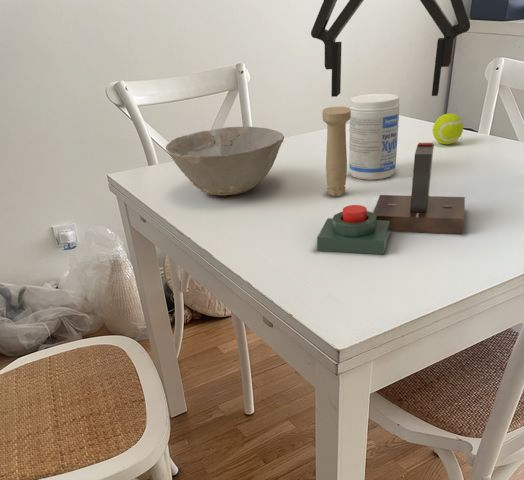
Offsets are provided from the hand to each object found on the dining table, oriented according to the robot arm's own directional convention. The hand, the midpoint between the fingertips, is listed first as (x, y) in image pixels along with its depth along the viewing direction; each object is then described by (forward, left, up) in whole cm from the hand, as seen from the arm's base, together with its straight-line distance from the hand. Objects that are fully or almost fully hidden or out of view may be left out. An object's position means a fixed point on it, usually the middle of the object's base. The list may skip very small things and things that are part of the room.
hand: (384, 94), depth 75 cm
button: (+3, +4, -17) cm, 17 cm away
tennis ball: (-9, -55, -21) cm, 59 cm away
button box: (+3, +4, -20) cm, 21 cm away
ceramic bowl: (+32, -19, -21) cm, 42 cm away
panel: (-6, -6, -20) cm, 22 cm away
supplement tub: (+5, -31, -21) cm, 38 cm away
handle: (+10, -18, -21) cm, 29 cm away
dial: (-6, -6, -18) cm, 20 cm away
